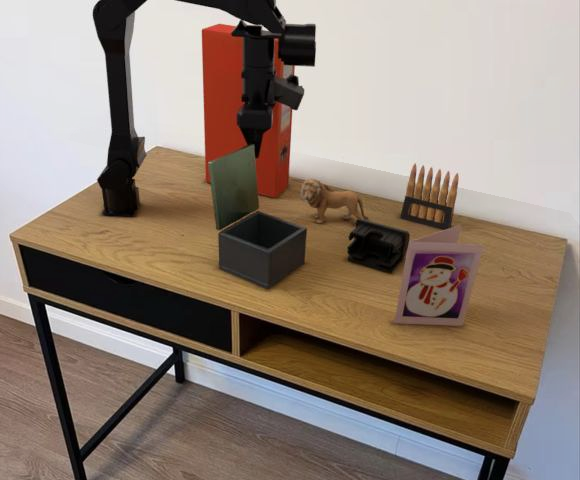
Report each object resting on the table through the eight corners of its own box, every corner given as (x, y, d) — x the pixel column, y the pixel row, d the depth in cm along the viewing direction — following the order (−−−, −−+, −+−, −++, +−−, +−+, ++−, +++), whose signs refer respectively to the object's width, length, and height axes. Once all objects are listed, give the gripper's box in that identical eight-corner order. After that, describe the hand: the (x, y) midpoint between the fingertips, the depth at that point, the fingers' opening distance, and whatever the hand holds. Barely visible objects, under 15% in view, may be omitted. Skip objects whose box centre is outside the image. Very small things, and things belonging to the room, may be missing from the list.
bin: (304, 263, 119) (307, 228, 114) (268, 289, 111) (269, 252, 106) (257, 245, 123) (257, 210, 119) (218, 268, 116) (218, 232, 111)
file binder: (222, 171, 152) (220, 22, 132) (288, 185, 147) (296, 34, 127) (205, 182, 146) (200, 29, 126) (274, 198, 141) (279, 41, 121)
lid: (254, 144, 112) (250, 143, 112) (211, 162, 104) (207, 162, 104) (259, 208, 118) (256, 207, 119) (219, 230, 111) (216, 229, 111)
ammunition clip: (400, 218, 136) (409, 163, 129) (403, 214, 137) (412, 160, 130) (448, 230, 132) (460, 175, 125) (451, 227, 134) (463, 172, 126)
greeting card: (394, 326, 104) (409, 244, 95) (389, 301, 110) (402, 222, 101) (463, 328, 104) (485, 247, 95) (454, 303, 110) (473, 225, 101)
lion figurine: (300, 226, 131) (302, 184, 125) (298, 214, 135) (300, 174, 129) (370, 227, 132) (376, 186, 126) (366, 215, 136) (371, 175, 131)
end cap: (406, 258, 122) (412, 226, 118) (393, 274, 117) (399, 241, 113) (358, 244, 126) (362, 213, 121) (344, 259, 120) (347, 227, 116)
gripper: (302, 80, 107) (297, 169, 116) (303, 53, 122) (299, 134, 131) (235, 76, 107) (237, 166, 116) (245, 50, 122) (246, 132, 131)
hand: (257, 149), depth 124 cm, fingers open, 9 cm apart
